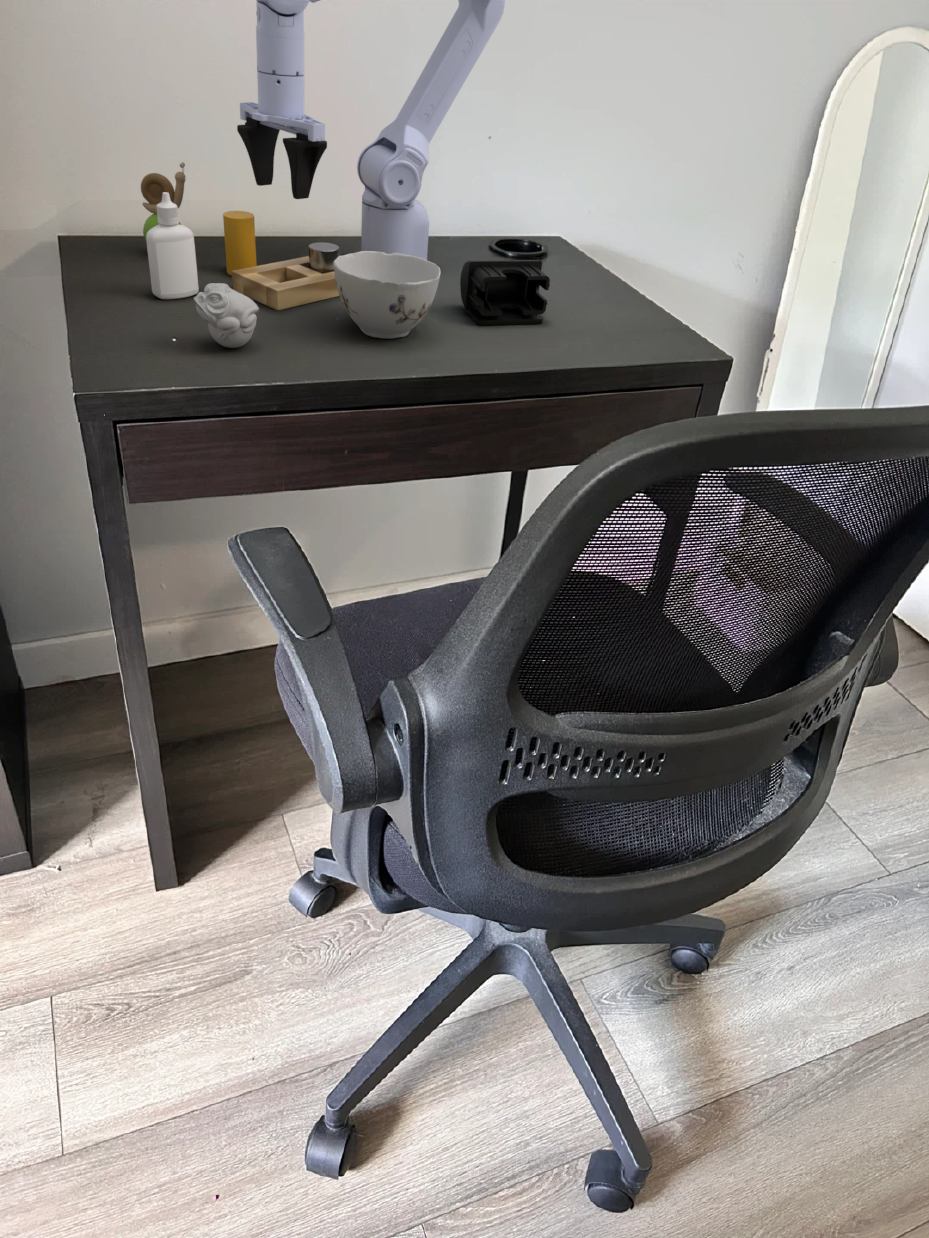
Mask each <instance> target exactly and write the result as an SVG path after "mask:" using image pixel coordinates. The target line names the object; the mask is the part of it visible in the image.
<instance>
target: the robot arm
mask: <svg viewBox="0 0 929 1238" xmlns="http://www.w3.org/2000/svg"><path fill="white" fill-rule="evenodd" d="M255 1H256V2H255V3H256V13H255V14H256V26H255V38H256V39H255V41H256V42H255V43H256V74H257V77H256V79H257V103H256V102H253V101H252V102H249V101H248V102H239V115H240V116H239V118H240V120H241V121H245V122H244V124H237V125H236V129H237V133H238V135H239V136H240V138H241V140H242V142H243V144H244V147H245V149H246V152H247V154H248V158H249V161H250V164H251V168H252V172H253V177H254V180H255V183H256V185H257V186H258V187H259V186H260V187H261V186H271V185H272V186H273V180H274V165H275V152H276V146H277V143H278V137H279V134H280V131H282V132H284V133H285V132H286V133H289V134H292V135H295V137H283V138H282V143H283V146H284V149H285V152H286V156H287V160H288V164H289V170H290V183H291V184H290V185H291V194H292V197H293V199H294V200H304V199H309V198H310V194H311V190H312V185H313V181H314V177H315V174H316V171H317V168H318V166H319V163H320V161H321V158H322V157H323V155H324V153H325V151H326V150H327V147H328V141H327V140H326V123H324V122H322V121H321V122H320V121H319V120H317V119H315V118H312V117H311V116H309V115H307V114H306V113H305V30H304V27H305V25H304V21H305V20H304V19H305V18H304V17H305V16H304V15H305V14H304V11H305V9H307V7H308V5H309V3H312V4H315V3H317V2H320V1H321V0H255ZM457 1H458V7H457V9H456V10H455V12H454V14H453V16H452V17H451V19H450V21H449V23H448V25H447V27H446V29H444V32H443V34H442V36H441V37H440V39H439V41H438V42H437V44H436V46H435V48H434V50H433V52H432V53H431V55H430V57H429V59H428V60H427V62H426V64H425V66H424V68H423V69H422V71H421V73H420V75H419V76H418V79H417V80H416V82H415V84H414V85H413V87H412V89H411V91H410V93H409V94H408V96H407V98H406V99H405V101H404V103H403V106H402V107H401V109H400V110H399V112H398V114H397V116H396V117H395V119H394V120H393V121H392V122H390V123H389V124H388V125H386V126H385V127H384V128H382V129H381V131H380V132H379V134H378V136H377V138H376V139H375V140H373V142H371V143H370V144H369V145H367V146H365V147H364V149H362V151H361V153H360V154H359V156H358V159H357V163H356V164H357V165H356V170H357V175H358V178H359V180H360V183H361V184H362V185H363V187H364V191H363V193H362V195H361V200H362V201H361V227H360V228H361V230H360V232H361V234H360V235H361V236H360V237H361V238H360V251H376V252H383V253H386V254H393V253H400V254H406V255H413V256H417V257H420V258H423V259H425V260H427V261H428V249H429V234H430V232H429V231H430V219H429V214H428V212H427V211H428V210H427V209H426V207H425V206H424V205H423V203H422V202H421V201H419V200H417V199H416V198H418V195H419V193H420V191H421V187H422V182H423V181H422V180H423V176H424V172H425V170H426V168H427V166H428V165H429V162H430V161H429V160H430V143H431V141H432V139H433V137H434V136H435V134H436V132H437V130H438V129H439V127H440V126H441V124H442V122H443V121H444V118H445V117H446V115H447V113H448V112H449V110H450V108H451V106H452V104H453V103H454V101H455V100H456V98H457V97H458V94H459V92H460V91H461V89H462V88H463V86H464V84H465V82H466V81H467V79H468V77H469V75H470V73H471V72H472V70H473V68H474V67H475V65H476V63H477V61H478V60H479V58H480V56H481V54H482V53H483V51H484V49H485V47H486V46H487V44H488V42H489V41H490V40H491V37H492V35H493V34H494V33H495V31H496V28H497V27H498V25H499V23H500V21H501V20H502V17H503V15H504V11H505V5H506V0H457Z"/></svg>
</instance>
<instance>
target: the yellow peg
mask: <svg viewBox="0 0 929 1238" xmlns="http://www.w3.org/2000/svg"><path fill="white" fill-rule="evenodd" d="M222 220H223V234H224V246H225V247H224V248H225V249H224V250H225V251H224V252H225V263H226V265H225V266H226V273H227V274H228V275H229V276H232V271H234V270H239V269H245V268H250V267H255V266H258V265H257V264H258V263H257V246H256V244H257V243H256V225H255V215H254V213H253V212H250V211H244V210H228V211H225V212H223V213H222Z"/></svg>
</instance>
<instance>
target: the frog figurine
mask: <svg viewBox="0 0 929 1238" xmlns="http://www.w3.org/2000/svg"><path fill="white" fill-rule="evenodd" d="M193 301H194V302H195V310H196V312H197V313H198V315H199V316H200V317H201V319H202V320H203V321H204V322H206V323H207V328H208V332H209V334H210V336H211V337H212V338H213V340H214V341H215V342H216V343H218V344H219V345H221V346H222V347H224V348H228V349H237V348H241V347H243V346H245V345H247V344H248V343H249V341H250V340H251V339H252V337H253V334H254V330H255V328H256V325H257V318H258V316H257V315H256V313H258V312H259V311H260V307H259V306H258V304H257V303H255V302H256V301H254V300H253V299H251V298H249V297H247V296H245V295H243V294H241V293H238V292H237V291H235V290H233V288H231V287H230V286H229V285H228V284H227V283H221V282H216V283H214V282H211V283H208V284H206V285H205V287H204V289H203V291H198V293H197V294H196V296H193Z"/></svg>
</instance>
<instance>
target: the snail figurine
mask: <svg viewBox="0 0 929 1238" xmlns="http://www.w3.org/2000/svg"><path fill="white" fill-rule="evenodd" d="M185 166H186V163H185V162H182V161H181V163H179V168H181V171H177V172H175V174H174V180H175V188H174V186H173V183H172V182H171V181H170V180H169V179H168V177H166V176H165V175H163V174H161V173H157V172H151V173H148V174H146V175H145V176H144V177H143V179H142V180H141V182H140V192H141V195H142V197H143V198H144V200H145V201H146V202H143V201H142V206H143V207H144V209H146V210H147V211H148V212H149V213H151V215H150V216H148V217H147V218H146V219H145V222H144V225H143V230H142V232H143V238H144V241H145V243H147V241H146V234H147V232H148V231H149V230H150V229H151V228H153V227H155V226H157V225H159V223H158V216H157V204H159V203H161V202H162V194H163V192H168V193H169V196H170V199H171V202H172V203H174V204H176V205H177V206H178V209H179V208H180V207H181V205H182V202H183V198H184V192H185V182H186V180H187V179H186V177H187V175H186V174H185ZM178 224H180V225H182V223H181V222H180V221H179V223H178Z"/></svg>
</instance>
